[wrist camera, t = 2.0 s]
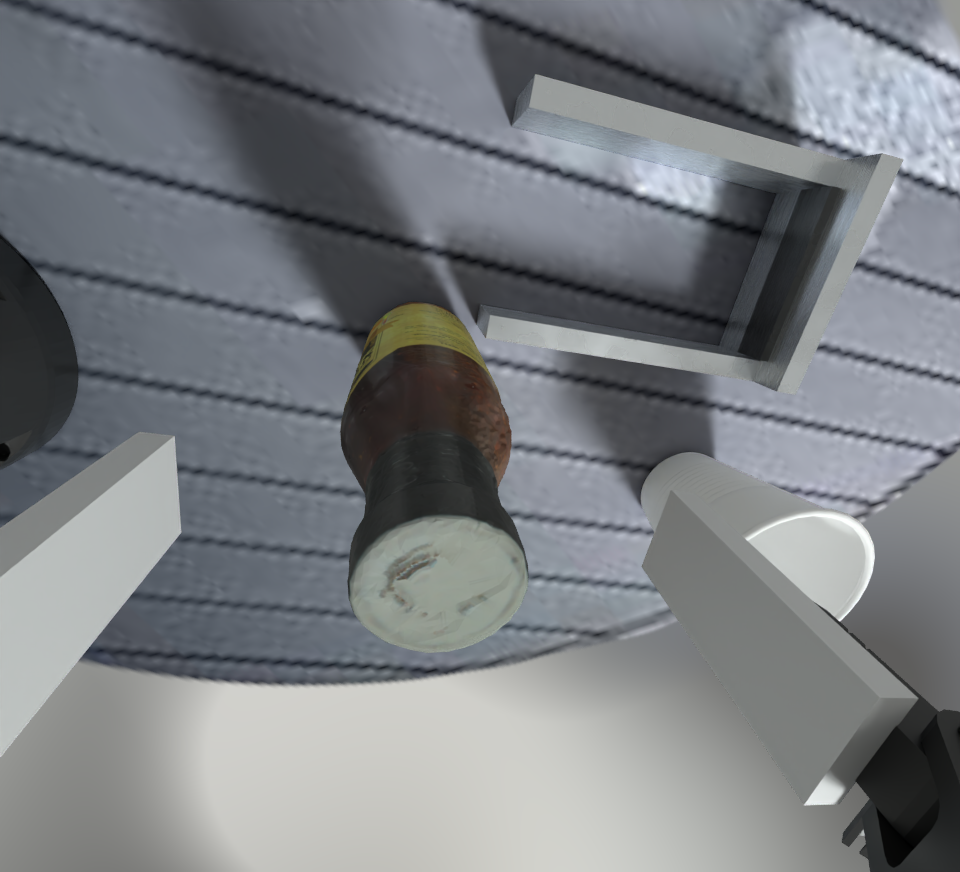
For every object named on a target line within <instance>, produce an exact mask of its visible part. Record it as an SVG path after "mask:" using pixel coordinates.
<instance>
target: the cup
mask: <svg viewBox="0 0 960 872" xmlns="http://www.w3.org/2000/svg"><path fill="white" fill-rule="evenodd" d="M671 490H678V491H687V492H695V493H696V494H697V495H698V496H699V497H700V498H701V499H702V500H703V501H704V502H706V503H707V504H708V505H709V506H710V507H711V508H712V509H713V510H714V511H715V512H716V513H718V514H719V515H720V516H721V517H722V518H723V519H724V520H725V521H726V522H727V523H728V524H730V525H731V526H732V527H733V528H734V529H735V530H736V531H737V532H738V533H739V534H740V535H741V536H743V537H744V538H745V539H746V540H747V541H748V542H749V543H750V544H751V545H752V546H753V547H755V548H756V549H757V550H758V551H759V552H760V553H761V554H762V555H763V556H764V557H765V558H766V559H768V560H769V561H770V562H771V563H772V564H773V565H774V566H775V567H776V568H777V569H778V570H780V571H781V572H782V573H783V574H784V575H785V576H786V577H787V578H788V579H789V580H790V581H791V582H793V583H794V584H795V585H796V586H797V587H798V588H799V589H800V590H801V591H802V592H803V593H805V594H806V595H807V596H808V597H809V598H810V599H811V600H812V601H814V602H815V603H817V604H818V605H820V606H821V607H823V608H824V609H826V610H827V611H828V612H830V613H831V614H832V615H833V616H834V617H835V618H836V619H837V620H838V621H839V622H840V621H841V620H842V619H843V618H844V617H845V616H846V615H847V614H848V613H849V611H851V609H852V608H853V607H854V606H855V604H856V603H857V602H858V601H859V599H860V597H861V596H862V594H863V592H864V590H865V589H866V587H867V585H868V583H869V580H870V577H871V574H872V572H873V565H874V559H875V555H874V545H873V542H872V540H871V537H870V535H869V532H868V531H867V530H866V529H865V527H864V526H863V525H862V524H861V523H860V522H859V521H858V520H856V519H855V518H853V517H852V516H850V515H848V514H847V513H843V512H840V511H837V510H833V509H826V508H823V507H821V506H818V505H816V504H814V503H812V502H809V501H807V500H805V499H803V498H800V497H798V496H796V495H794V494H792V493H789V492H787V491H785V490H782V489H779V488H778V487H775V486H773V485H771V484H769V483H766V482H764V481H762V480H759V479H758V478H755V477H753V476H751V475H748V474H746V473H744V472H742V471H740V470H737V469H735V468H733V467H731V466H729V465H726V464H724V463H722V462H720V461H718V460H716V459H713V458H711V457H709V456H707V455H704V454H701V453H696V452H686V453H680V454H677V455H674V456H671V457H669V458H667V459H665V460H664V461H662V462H661V463H660V464H658V465H657V466H656V467H655V468H654V469H653V470H652V471H651V473H650V474H649V475H648V477H647V478H646V480H645V482H644V484H643V487H642V491H641V505H642V508H643V511H644V513H645V515H646V517H647V519H648V521H649V523H650V525H651V527H652V528H653V530H654V533H655V530H656V528H657V525H658V522H659V520H660V517H661V515H662V512H663V509H664V507H665V504H666V501H667V499H668V496H669V494H670V491H671Z"/></svg>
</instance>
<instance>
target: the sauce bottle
mask: <svg viewBox="0 0 960 872" xmlns="http://www.w3.org/2000/svg"><path fill="white" fill-rule="evenodd" d="M340 433H341V446H342V450H343V453H344V456H345V459H346V461H347V463H348V465H349V467H350V468H351V470H352V472H353V474H354V475H355V477H356V479H357V480H358V482H359V484H360V486H361V487H362V489H363V491H364V493H365V496H366V505H365V514H364V518H363V520H362V521H361V523H360V525H359V526H358V528H357V530H356V532H355V534H354V537H353V541H352V543H351V550H350V559H349V576H348V594H349V601H350V603H351V607H352V610H353V612H354V614H355V615H356V617H357V618H358V620H359V621H360V622H361V624H362V625H363V626H364V627H366V628H367V629H368V630H369V631H370V632H372V633H373V634H375V635H376V636H378V637H379V638H380V639H382V640H383V641H385V642H387V643H390V644H393V645H396V646H400V647H403V648H406V649H409V650H415V651H420V652H425V653H433V652H449V651H452V650H455V649H461V648H465V647H467V646H470V645H473V644H475V643H477V642H479V641H481V640H483V639H485V638H487V637H489V636H491V635H493V634H494V633H495V632H496V631H498V630H499V629H500V628H501V627H502V626H503V625H504V624H506V623H507V622H509V621H510V620H511V618H512V616H513V614H514V613H515V612H516V611H517V610H518V609H519V607H520V605H521V603H522V601H523V599H524V596H525V594H526V591H527V587H528V578H529V577H528V564H527V560H526V556H525V551H524V548H523V545H522V543H521V540H520V538H519V535H518V532H517V529H516V527H515V525H514V522H513V520H512V519H511V517H510V516H509V515H508V513H507V512H506V511H505V509H504V508H503V507H502V506H501V503H500V500H499V497H498V486H499V484H500V481H501V479H502V478H503V475H504V474H505V470H506V468H507V465H508V462H509V458H510V450H511V429H510V425H509V419H508V416H507V414H506V412H505V409H504V407H503V405H502V404H501V399H500V395H499V392H498V389H497V387H496V385H495V383H494V381H493V379H492V377H491V375H490V373H489V371H488V369H487V367H486V365H485V363H484V361H483V359H482V357H481V355H480V353H479V351H478V349H477V347H476V345H475V343H474V341H473V339H472V337H471V336H470V334H469V332H468V330H467V329H466V327H465V326H464V324H463V323H462V322H461V321H460V320H459V319H458V318H457V317H456V316H455V315H453V314H452V313H451V312H450V311H448V310H446V309H445V308H443V307H440V306H436V305H433V304H429V303H423V302H407V303H405V304H402V305H399V306H397V307H396V308H394V309H392V310H391V311H390V312H388V313H387V314H385V315H384V316H383V317H382V318H380V319H379V320H378V321H377V322H376V323H375V325H374V326H373V328H372V330H371V332H370V334H369V336H368V338H367V341H366V344H365V347H364V350H363V353H362V356H361V359H360V362H359V364H358V368H357V370H356V374H355V378H354V380H353V383H352V386H351V389H350V392H349V395H348V398H347V402H346V404H345V408H344V413H343V417H342V422H341V431H340Z"/></svg>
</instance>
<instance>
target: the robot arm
mask: <svg viewBox="0 0 960 872" xmlns="http://www.w3.org/2000/svg"><path fill="white" fill-rule="evenodd" d="M77 387H78V364H77V356H76V351H75V347H74V343H73V339H72V336H71V334H70V331H69V328H68V326H67V323H66V321H65V319H64V317H63V315H62V313H61V311H60V309H59V307H58V305H57V304H56V302H55V300H54V299H53V297H52V295H51V294H50V292H49V291H48V290H47V288H46V287H45V285H44V284H43V283H42V281H41V280H40V279H39V277H38V276H37V275H36V274H35V273H34V271H33V270H32V269H31V268H30V267H29V266H28V265H27V263H26V262H25V261H24V260H23V259H22V258H21V257H20V256H19V255H18V254H17V253H16V252H15V251H14V250H13V249H12V248H10V247H9V246H8V245H7V244H6V243H5V242H4V241H3V240H1V239H0V470H1V469H3V468H5V467H7V466H9V465H11V464H13V463H14V462H16V461H18V460H20V459H21V458H23V457H25V456H27V455H29V454H30V453H32V452H34V451H36V450H37V449H39V448H40V447H42V446H43V445H44V444H46V443H47V442H48V441H49V440H51V439H52V438H53V437H54V436H55V435H56V434H57V432H58V431H59V430H60V429H61V428H62V426H63V425H64V423H65V422H66V420H67V418H68V416H69V414H70V412H71V410H72V407H73V405H74V401H75V398H76V393H77ZM180 533H181V522H180V508H179V493H178V479H177V464H176V450H175V436H172V435H162V434H153V433H144V432H138V433H137V434H135V435H134V436H132V437H131V438H129V439H128V440H126V441H125V442H124V443H122V444H121V445H119V446H118V447H116V448H115V449H114V450H112V451H111V452H109V453H108V454H106V455H105V456H103V457H102V458H101V459H99V460H98V461H96V462H95V463H93V464H92V465H90V466H89V467H88V468H86V469H85V470H83V471H82V472H80V473H79V474H77V475H76V476H75V477H73V478H72V479H70V480H69V481H67V482H66V483H65V484H63V485H62V486H60V487H59V488H57V489H56V490H54V491H53V492H52V493H50V494H49V495H47V496H46V497H44V498H43V499H41V500H40V501H39V502H37V503H36V504H34V505H33V506H31V507H30V508H29V509H27V510H26V511H24V512H23V513H21V514H20V515H18V516H17V517H16V518H14V519H13V520H11V521H10V522H8V523H7V524H5V525H4V526H3V527H1V528H0V757H1V756H2V755H3V754H4V752H5V751H6V750H7V749H8V747H9V746H10V745H11V743H12V742H13V741H14V739H16V737H17V736H18V735H19V734H20V732H21V731H22V730H23V729H24V727H25V726H26V725H27V724H28V722H29V721H30V720H31V719H32V717H33V716H34V715H35V713H36V712H37V711H38V710H39V708H41V706H42V705H43V704H44V702H45V701H46V700H47V699H48V698H49V696H50V695H51V694H52V693H53V691H54V690H55V689H56V688H57V686H58V685H59V684H60V683H61V681H62V680H63V679H64V678H65V676H66V675H67V674H68V673H69V671H70V670H71V669H72V667H73V666H74V665H75V664H76V663H77V662H78V660H79V659H80V658H81V657H82V655H83V654H84V653H85V652H86V650H87V649H88V648H89V647H90V645H91V644H92V643H93V642H94V640H95V639H96V638H97V637H98V635H99V634H100V633H101V632H102V630H103V629H104V628H105V627H106V625H107V624H108V623H109V622H110V620H111V619H112V618H113V617H114V616H115V614H116V613H117V612H118V611H119V609H120V608H121V607H122V606H123V604H124V603H125V602H126V601H127V599H128V598H129V597H130V596H131V594H132V593H133V592H134V591H135V589H136V588H137V587H138V586H139V584H140V583H141V582H142V581H143V579H144V578H145V577H146V576H147V574H148V573H149V572H150V571H151V570H152V568H153V567H154V566H155V565H156V563H157V562H158V561H159V560H160V558H161V557H162V556H163V555H164V553H165V552H166V551H167V550H168V548H169V547H170V546H171V545H172V543H173V542H174V541H175V540H176V538H177V537H178V536H179V535H180ZM642 568H643V569H644V571H645V572H646V574H647V575H648V577H649V578H650V580H651V581H652V583H653V584H654V586H655V587H656V589H657V590H658V591H659V593H660V594H661V596H662V597H663V599H664V600H665V602H666V603H667V605H668V606H669V608H670V609H671V611H672V612H673V614H674V615H675V616H676V618H677V619H678V621H679V622H680V624H681V625H682V627H683V628H684V630H685V631H686V633H687V634H688V635H689V637H690V638H691V640H692V641H693V643H694V644H695V645H696V647H697V649H698V650H699V652H700V653H701V655H702V656H703V657H704V659H705V660H706V662H707V663H708V665H709V666H710V668H711V669H712V671H713V672H714V674H715V675H716V677H717V678H718V680H719V681H720V683H721V684H722V686H723V687H724V688H725V690H726V691H727V693H728V694H729V696H730V697H731V699H732V700H733V702H734V703H735V705H736V706H737V708H738V709H739V710H740V712H741V713H742V715H743V716H744V718H745V719H746V721H747V722H748V724H749V725H750V727H751V728H752V730H753V731H754V733H755V734H756V736H757V737H758V738H759V740H760V741H761V743H762V744H763V746H764V747H765V748H766V750H767V752H768V753H769V755H770V756H771V758H772V759H773V760H774V762H775V763H776V765H777V766H778V768H779V769H780V771H781V772H782V774H783V775H784V777H785V778H786V779H787V781H788V783H789V784H790V785H791V787H792V788H793V790H794V791H795V793H796V794H797V796H798V797H799V799H800V800H801V802H802V803H803V805H825V804H840V802H841V801H842V800H843V798H844V797H845V796H846V794H847V793H848V792H849V790H850V789H851V788H852V786H853V785H854V784H855V782H857V783H858V784H859V786H860V787H861V788H862V789H863V791H864V792H865V793H866V794H867V796H868V797H869V798H870V799H869V800H868V802H867V803H866V804H865V806H864V807H863V808H862V809H861V811H860V812H859V813H858V814H857V816H856V817H855V818H854V820H853V821H852V822H851V823H850V825H849V826H848V827H847V828H846V830H845V831H844V833H843V838H842V843H844V844H845V845H847V846H848V847H849V846H850V845H851V844H852V842H853V841H854V840H855V839H856V838H857V836H858V835H862V836H865V840H866V845H865V846H864V847H863V848H862V849H861V851H860V854H861V855H863V856H865V857H866V858H867V859H868V860H869V867H870V872H960V712H958V711H951V710H942V711H940V712H939V711H937V710H936V709H935V708H934V707H933V706H932V705H930V704H929V703H928V702H927V701H926V700H925V699H924V698H923V697H922V696H921V695H920V694H918V693H917V692H916V691H915V690H914V689H913V688H912V687H911V686H910V685H909V684H908V683H906V682H905V681H904V680H903V679H902V678H901V677H899V675H897V674H896V673H895V672H894V671H893V670H892V669H891V668H890V667H889V666H888V665H887V664H886V663H884V662H883V661H882V660H881V659H880V658H879V657H878V656H876V655H875V653H873V652H872V651H871V650H870V649H866V648H865V644H864V643H862V642H861V641H860V640H859V639H858V638H857V637H856V636H855V635H854V634H853V633H848V629H847V628H846V627H845V626H844V625H843V624H842V623H840V622H839V621H838V620H837V619H836V618H835V617H834V616H833V615H832V614H831V613H830V612H828V611H827V610H826V609H824V608H823V607H821V606H820V605H818V604H817V603H815V602H814V601H812V600H811V599H810V598H809V597H808V596H807V595H806V594H805V593H803V592H802V591H801V590H800V589H799V588H798V587H797V586H796V585H795V584H794V583H793V582H791V581H790V580H789V579H788V578H787V577H786V576H785V575H784V574H783V573H782V572H781V571H780V570H778V569H777V568H776V567H775V566H774V565H773V564H772V563H771V562H770V561H769V560H768V559H766V558H765V557H764V556H763V555H762V554H761V553H760V552H759V551H758V550H757V549H756V548H755V547H753V546H752V545H751V544H750V543H749V542H748V541H747V540H746V539H745V538H744V537H743V536H741V535H740V534H739V533H738V532H737V531H736V530H735V529H734V528H733V527H732V526H731V525H730V524H728V523H727V522H726V521H725V520H724V519H723V518H722V517H721V516H720V515H719V514H718V513H716V512H715V511H714V510H713V509H712V508H711V507H710V506H709V505H708V504H707V503H706V502H704V501H703V500H702V499H701V498H700V497H699V496H698V495H697V494H696V493H695V492H687V491H678V490H671V491H670V494H669V496H668V499H667V501H666V504H665V507H664V509H663V512H662V515H661V517H660V520H659V522H658V525H657V528H656V530H655V533H654V536H653V538H652V541H651V543H650V546H649V549H648V551H647V554H646V557H645V559H644V562H643V564H642Z"/></svg>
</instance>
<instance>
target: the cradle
mask: <svg viewBox="0 0 960 872" xmlns="http://www.w3.org/2000/svg"><path fill="white" fill-rule="evenodd" d="M512 127H515V128H519V129H523V130H527V131H531V132H535V133H539V134H543V135H547V136H551V137H555V138H559V139H563V140H567V141H571V142H574V143H578V144H582V145H586V146H590V147H594V148H598V149H602V150H606V151H610V152H614V153H618V154H622V155H626V156H630V157H634V158H638V159H642V160H646V161H650V162H654V163H658V164H662V165H666V166H670V167H674V168H677V169H681V170H685V171H689V172H693V173H697V174H701V175H705V176H709V177H713V178H717V179H721V180H725V181H729V182H733V183H737V184H741V185H745V186H749V187H753V188H757V189H761V190H765V191H769V192H773V193H777V194H776V196H775V199H774V202H773V204H772V207H771V210H770V212H769V215H768V218H767V220H766V223H765V225H764V228H763V231H762V233H761V236H760V239H759V241H758V244H757V247H756V249H755V252H754V255H753V257H752V260H751V262H750V265H749V268H748V270H747V273H746V276H745V278H744V281H743V284H742V286H741V289H740V292H739V294H738V297H737V299H736V302H735V305H734V307H733V310H732V313H731V315H730V318H729V321H728V323H727V326H726V329H725V331H724V334H723V336H722V339H721V342H720V344H719V346H717V345H711V344H705V343H699V342H694V341H688V340H682V339H676V338H671V337H665V336H659V335H653V334H648V333H642V332H636V331H630V330H625V329H619V328H613V327H607V326H602V325H596V324H590V323H584V322H579V321H573V320H567V319H562V318H556V317H550V316H544V315H539V314H533V313H527V312H521V311H516V310H510V309H504V308H498V307H493V306H487V305H481V304H480V307H479V313H478V319H477V324H476V325H477V326H478V328H479V329H480V331H481V332H482V333H483V335H484V336H485V338H487V339H493V340H499V341H505V342H512V343H518V344H524V345H530V346H537V347H543V348H549V349H555V350H562V351H568V352H574V353H580V354H587V355H593V356H599V357H605V358H612V359H618V360H624V361H630V362H637V363H643V364H649V365H655V366H661V367H668V368H674V369H680V370H686V371H693V372H699V373H705V374H711V375H718V376H724V377H730V378H736V379H743V380H749V381H753V382H756V383H758V384H760V385H763V386H765V387H767V388H770V389H772V390H774V391H777V392H782V393H789V394H795V395H796V392H797V390H798V388H799V386H800V384H801V382H802V379H803V377H804V375H805V373H806V371H807V368H808V366H809V364H810V362H811V360H812V358H813V355H814V353H815V351H816V349H817V347H818V345H819V342H820V340H821V338H822V336H823V334H824V331H825V329H826V327H827V325H828V323H829V321H830V318H831V316H832V314H833V312H834V310H835V307H836V305H837V303H838V301H839V299H840V297H841V294H842V292H843V290H844V288H845V286H846V284H847V281H848V279H849V277H850V275H851V273H852V270H853V268H854V266H855V264H856V262H857V260H858V257H859V255H860V253H861V251H862V249H863V246H864V244H865V242H866V240H867V238H868V236H869V233H870V231H871V229H872V227H873V225H874V223H875V220H876V218H877V216H878V214H879V212H880V209H881V207H882V205H883V203H884V201H885V199H886V196H887V194H888V192H889V190H890V188H891V185H892V183H893V181H894V179H895V177H896V175H897V172H898V170H899V168H900V166H901V164H902V162H903V159H900V158H897V157H893V156H890V155H886V154H883V153H881V154H876V155H870V156H864V157H859V158H853V159H847V160H843V159H840V158H836V157H833V156H829V155H825V154H822V153H818V152H815V151H811V150H807V149H804V148H800V147H797V146H793V145H789V144H786V143H782V142H779V141H775V140H771V139H768V138H764V137H761V136H757V135H753V134H750V133H746V132H743V131H739V130H735V129H732V128H728V127H725V126H721V125H717V124H714V123H710V122H707V121H703V120H699V119H696V118H692V117H689V116H685V115H681V114H678V113H674V112H671V111H667V110H663V109H660V108H656V107H653V106H649V105H645V104H642V103H638V102H635V101H631V100H627V99H624V98H620V97H617V96H613V95H609V94H606V93H602V92H599V91H595V90H591V89H588V88H584V87H581V86H577V85H573V84H570V83H566V82H563V81H559V80H555V79H552V78H548V77H545V76H541V75H537V74H535V75H534V76H533V78H532V79H531V80H530V82H529V83H528V84H527V86H526V87H525V88H524V90H523V91H522V92H521V94H520V95H519V96H518V98H517V99H516V104H515V110H514V116H513V121H512Z"/></svg>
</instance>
